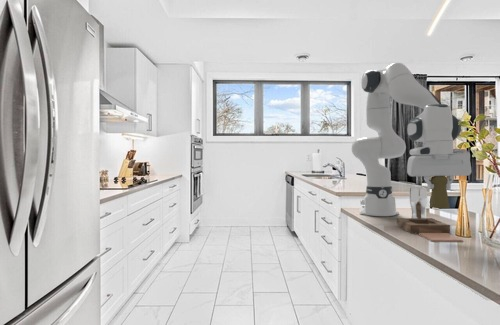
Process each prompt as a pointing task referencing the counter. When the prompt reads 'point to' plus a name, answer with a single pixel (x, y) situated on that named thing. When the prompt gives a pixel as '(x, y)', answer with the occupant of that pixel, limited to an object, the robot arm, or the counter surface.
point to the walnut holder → (423, 225)
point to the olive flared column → (439, 192)
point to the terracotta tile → (440, 237)
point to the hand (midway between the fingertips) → (438, 189)
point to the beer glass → (418, 201)
